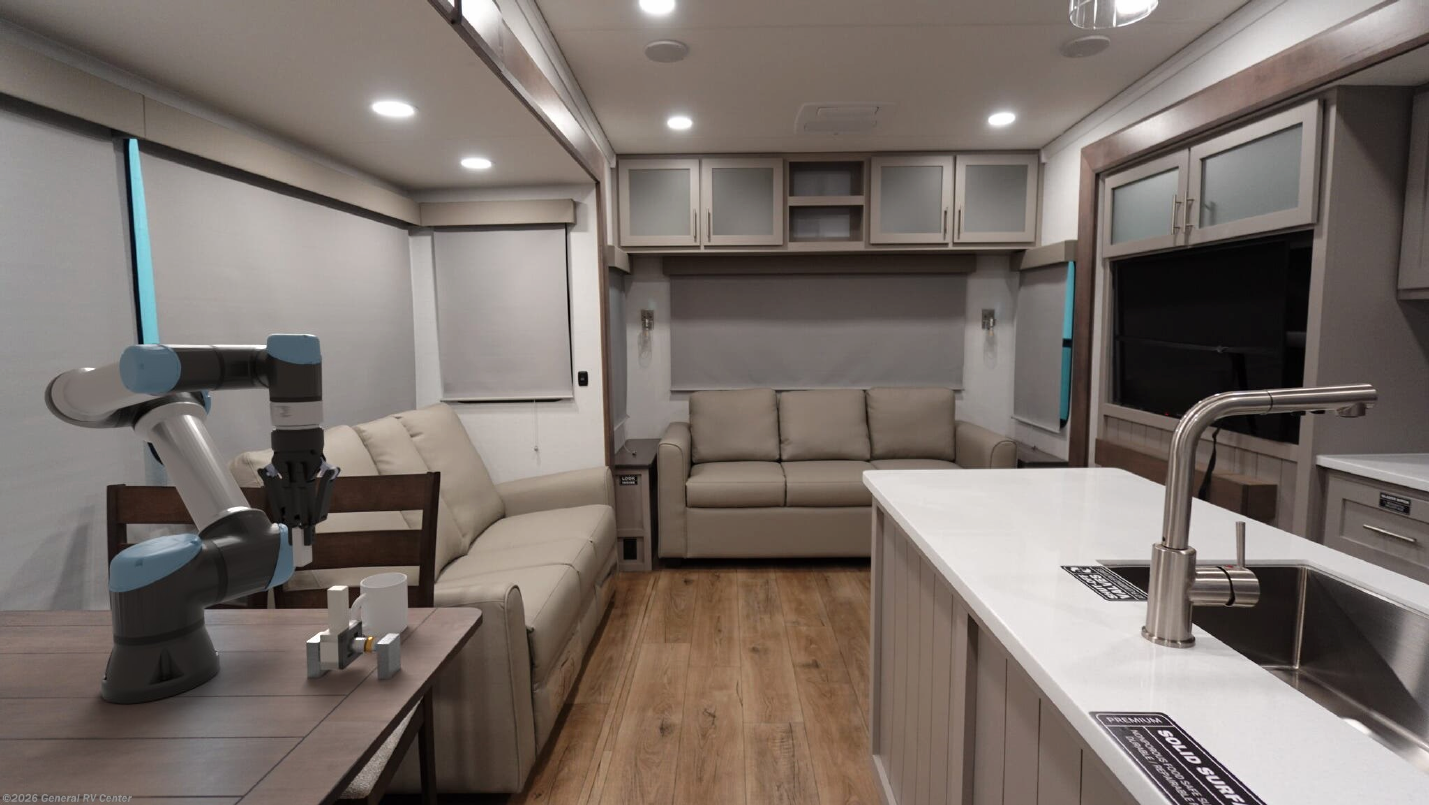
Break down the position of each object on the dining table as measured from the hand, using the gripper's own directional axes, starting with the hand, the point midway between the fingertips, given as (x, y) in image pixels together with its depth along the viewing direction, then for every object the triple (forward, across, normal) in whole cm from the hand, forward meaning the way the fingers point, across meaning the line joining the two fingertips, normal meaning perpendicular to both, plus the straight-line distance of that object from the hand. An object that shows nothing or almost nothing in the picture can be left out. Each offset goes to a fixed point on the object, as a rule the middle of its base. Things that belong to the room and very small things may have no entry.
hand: (303, 563), depth 112 cm
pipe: (+19, +8, 0) cm, 21 cm away
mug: (+19, +4, +15) cm, 25 cm away
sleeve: (+17, +6, 0) cm, 18 cm away
